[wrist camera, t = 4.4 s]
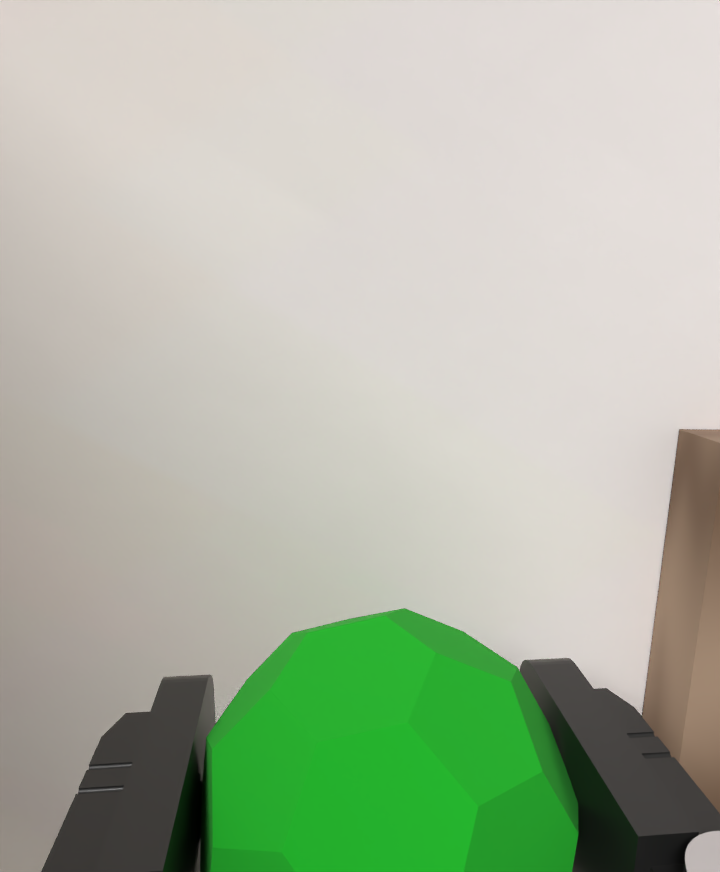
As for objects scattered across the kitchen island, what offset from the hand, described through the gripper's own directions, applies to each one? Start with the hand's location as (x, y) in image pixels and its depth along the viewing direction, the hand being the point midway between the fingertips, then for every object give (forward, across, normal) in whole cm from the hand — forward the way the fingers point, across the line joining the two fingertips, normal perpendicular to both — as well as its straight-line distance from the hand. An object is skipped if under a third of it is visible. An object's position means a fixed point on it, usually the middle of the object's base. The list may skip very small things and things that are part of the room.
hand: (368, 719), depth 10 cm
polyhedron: (+1, 0, 0) cm, 1 cm away
